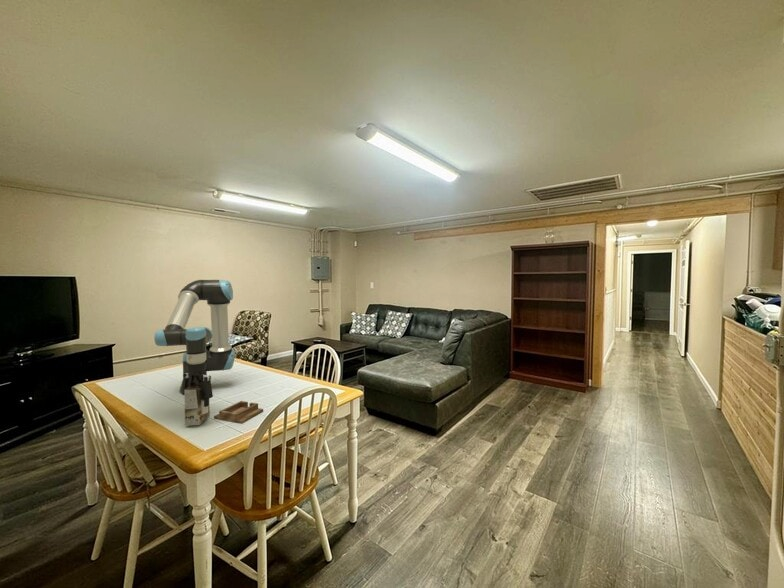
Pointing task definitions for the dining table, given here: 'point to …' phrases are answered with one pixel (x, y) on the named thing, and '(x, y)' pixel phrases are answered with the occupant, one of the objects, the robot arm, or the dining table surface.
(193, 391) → the coffee box
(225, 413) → the pocket board
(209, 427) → the dining table surface
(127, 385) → the dining table surface
